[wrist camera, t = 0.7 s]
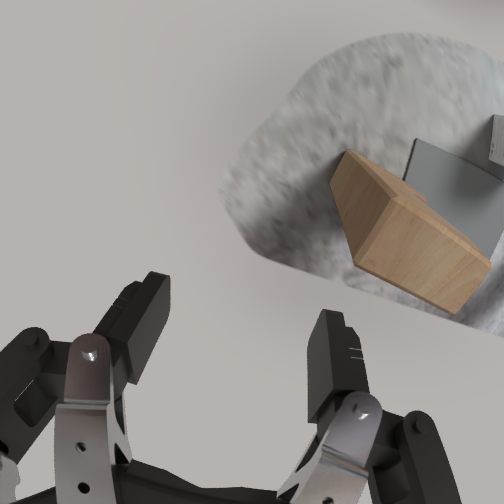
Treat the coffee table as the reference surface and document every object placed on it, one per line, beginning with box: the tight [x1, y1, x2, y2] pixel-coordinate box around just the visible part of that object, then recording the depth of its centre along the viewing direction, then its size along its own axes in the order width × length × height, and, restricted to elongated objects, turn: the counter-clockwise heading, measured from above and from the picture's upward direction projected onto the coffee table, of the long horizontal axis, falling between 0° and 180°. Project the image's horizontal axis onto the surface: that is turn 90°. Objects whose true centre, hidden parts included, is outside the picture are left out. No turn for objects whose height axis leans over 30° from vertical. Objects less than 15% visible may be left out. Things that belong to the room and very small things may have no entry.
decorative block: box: [329, 149, 491, 315], centre depth 26 cm, size 11×6×20 cm, turn 67°
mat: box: [404, 138, 504, 260], centre depth 34 cm, size 22×16×1 cm
